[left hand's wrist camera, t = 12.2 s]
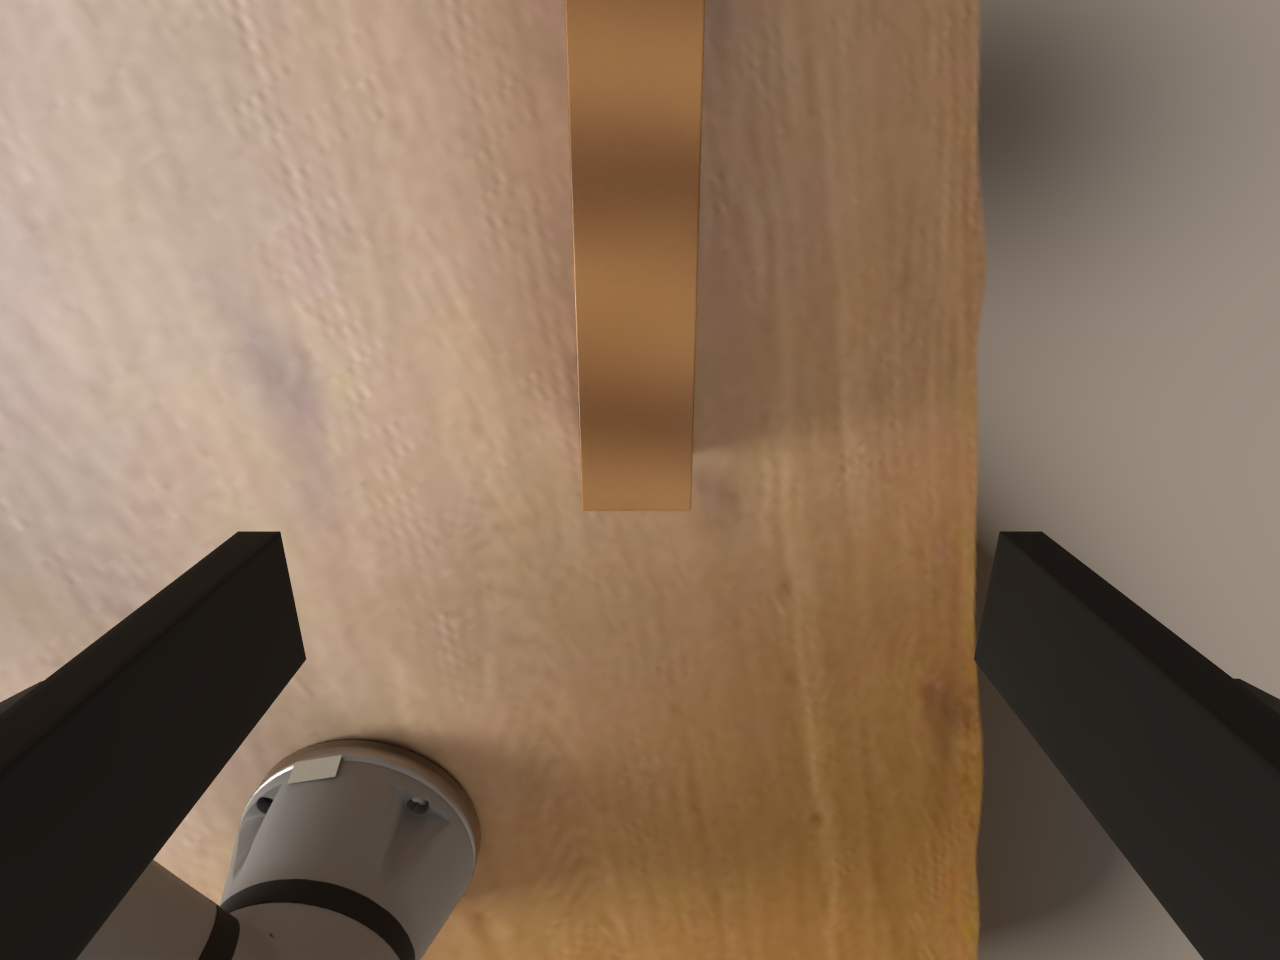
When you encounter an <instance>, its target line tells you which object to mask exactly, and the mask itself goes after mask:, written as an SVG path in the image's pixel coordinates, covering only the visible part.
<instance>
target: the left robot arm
mask: <svg viewBox="0 0 1280 960" xmlns="http://www.w3.org/2000/svg"><path fill="white" fill-rule="evenodd" d="M305 660H306V656H305V651H304V646H303V641H302V637H301V632H300V627H299V622H298V617H297V612H296V607H295V602H294V597H293V592H292V587H291V582H290V577H289V572H288V568H287V563H286V558H285V553H284V548H283V543H282V538H281V533H280V532H237V533H236V534H235V535H233V536H232V537H231V538H229V539H228V540H227V541H225V542H224V543H223V544H221V545H220V546H219V547H218V548H216V549H215V550H214V551H212V552H211V553H210V554H208V555H207V556H206V557H205V558H203V559H202V560H201V561H199V562H198V563H197V564H195V565H194V566H193V567H192V568H190V569H189V570H188V571H186V572H185V573H184V574H182V575H181V576H180V577H179V578H177V579H176V580H175V581H173V582H172V583H171V584H169V585H168V586H167V587H165V588H164V589H163V590H162V591H160V592H159V593H158V594H156V595H155V596H154V597H152V598H151V599H150V600H149V601H147V602H146V603H145V604H143V605H142V606H141V607H139V608H138V609H137V610H136V611H134V612H133V613H132V614H130V615H129V616H128V617H126V618H125V619H124V620H123V621H121V622H120V623H119V624H117V625H116V626H115V627H113V628H112V629H111V630H109V631H108V632H107V633H106V634H104V635H103V636H102V637H100V638H99V639H98V640H96V641H95V642H94V643H93V644H91V645H90V646H89V647H87V648H86V649H85V650H83V651H82V652H81V653H80V654H78V655H77V656H76V657H74V658H73V659H72V660H70V661H69V662H68V663H67V664H65V665H64V666H63V667H61V668H60V669H59V670H57V671H56V672H55V673H54V674H52V675H51V676H50V677H48V678H47V679H46V680H44V681H41V682H39V683H37V684H35V685H33V686H31V687H29V688H27V689H25V690H24V691H22V692H20V693H18V694H16V695H14V696H12V697H10V698H8V699H6V700H4V701H2V702H0V960H421V958H422V957H423V955H424V953H425V952H426V950H427V949H428V947H429V946H430V944H431V943H432V941H433V940H434V938H435V937H436V935H437V934H438V932H439V931H440V929H441V928H442V926H443V925H444V923H445V922H446V920H447V919H448V917H449V916H450V914H451V913H452V911H453V910H454V908H455V906H456V905H457V903H458V902H459V900H460V899H461V897H462V896H463V894H464V893H465V891H466V890H467V888H468V886H469V884H470V881H471V878H472V875H473V872H474V868H475V864H476V860H477V856H478V852H479V847H480V826H479V821H478V817H477V814H476V812H475V809H474V807H473V805H472V803H471V801H470V799H469V798H468V796H467V795H466V793H465V792H464V791H463V789H462V788H461V787H460V786H459V785H458V784H457V782H456V781H455V780H454V779H453V778H452V777H450V776H449V775H448V774H447V773H446V772H445V771H443V770H442V769H441V768H439V767H438V766H436V765H435V764H433V763H432V762H430V761H429V760H427V759H425V758H423V757H421V756H419V755H417V754H415V753H413V752H410V751H408V750H405V749H402V748H400V747H396V746H393V745H389V744H385V743H380V742H374V741H366V740H337V741H329V742H324V743H319V744H315V745H312V746H309V747H306V748H304V749H301V750H299V751H297V752H295V753H293V754H291V755H289V756H288V757H286V758H285V759H283V760H282V761H280V762H279V763H278V764H277V765H276V766H275V767H274V768H273V769H272V770H271V771H270V772H269V773H268V774H267V776H266V777H265V778H264V780H263V781H262V783H261V784H260V786H259V787H258V789H257V790H256V792H255V793H254V795H253V796H252V798H251V799H250V801H249V802H248V804H247V806H246V808H245V810H244V813H243V816H242V819H241V823H240V827H239V831H238V835H237V839H236V843H235V847H234V851H233V855H232V859H231V863H230V867H229V871H228V875H227V879H226V883H225V887H224V891H223V895H222V899H221V903H220V905H219V906H218V905H217V904H216V903H215V902H213V901H212V900H210V899H209V898H207V897H206V896H204V895H203V894H201V893H200V892H198V891H197V890H195V889H194V888H192V887H191V886H190V885H188V884H187V883H185V882H184V881H182V880H181V879H180V878H178V877H177V876H175V875H174V874H173V873H171V872H170V871H168V870H167V869H166V868H164V867H163V866H161V865H160V864H158V863H157V862H156V861H154V860H153V859H154V857H155V856H156V855H157V853H158V852H159V851H160V849H161V848H162V847H163V846H164V844H165V843H166V842H167V840H168V839H169V838H170V836H171V835H172V834H173V832H174V831H175V830H176V829H177V827H178V826H179V825H180V823H181V822H182V821H183V819H184V818H185V817H186V815H187V814H188V813H189V812H190V810H191V809H192V808H193V806H194V805H195V804H196V802H197V801H198V800H199V799H200V797H201V796H202V795H203V793H204V792H205V791H206V789H207V788H208V787H209V785H210V784H211V783H212V782H213V780H214V779H215V778H216V776H217V775H218V774H219V772H220V771H221V770H222V768H223V767H224V766H225V765H226V763H227V762H228V761H229V759H230V758H231V757H232V755H233V754H234V753H235V751H236V750H237V749H238V748H239V746H240V745H241V744H242V742H243V741H244V740H245V738H246V737H247V736H248V735H249V733H250V732H251V731H252V729H253V728H254V727H255V725H256V724H257V723H258V721H259V720H260V719H261V718H262V716H263V715H264V714H265V712H266V711H267V710H268V708H269V707H270V706H271V704H272V703H273V702H274V701H275V699H276V698H277V697H278V695H279V694H280V693H281V691H282V690H283V689H284V687H285V686H286V685H287V684H288V682H289V681H290V680H291V678H292V677H293V676H294V674H295V673H296V672H297V671H298V669H299V668H300V667H301V665H302V664H303V663H304V661H305ZM974 660H975V661H976V663H977V664H978V665H979V667H980V668H981V669H982V671H983V672H984V673H985V674H986V676H987V677H988V678H989V680H990V681H991V682H992V684H993V685H994V686H995V687H996V689H997V690H998V691H999V693H1000V694H1001V695H1002V697H1003V698H1004V699H1005V701H1006V702H1007V703H1008V704H1009V706H1010V707H1011V708H1012V710H1013V711H1014V712H1015V714H1016V715H1017V716H1018V717H1019V719H1020V720H1021V721H1022V723H1023V724H1024V725H1025V727H1026V728H1027V729H1028V731H1029V732H1030V733H1031V735H1032V736H1033V737H1034V738H1035V740H1036V741H1037V742H1038V744H1039V745H1040V746H1041V748H1042V749H1043V750H1044V751H1045V753H1046V754H1047V755H1048V757H1049V758H1050V759H1051V761H1052V762H1053V763H1054V765H1055V766H1056V767H1057V768H1058V770H1059V771H1060V772H1061V774H1062V775H1063V776H1064V778H1065V779H1066V780H1067V782H1068V783H1069V784H1070V785H1071V787H1072V788H1073V789H1074V791H1075V792H1076V793H1077V795H1078V796H1079V797H1080V799H1081V800H1082V801H1083V802H1084V804H1085V805H1086V806H1087V808H1088V809H1089V810H1090V812H1091V813H1092V814H1093V815H1094V817H1095V818H1096V819H1097V821H1098V822H1099V823H1100V825H1101V826H1102V827H1103V829H1104V830H1105V831H1106V832H1107V834H1108V835H1109V836H1110V838H1111V839H1112V840H1113V842H1114V843H1115V844H1116V846H1117V847H1118V848H1119V849H1120V851H1121V852H1122V853H1123V855H1124V856H1125V857H1126V859H1127V860H1128V861H1129V862H1130V864H1131V865H1132V866H1133V868H1134V869H1135V870H1136V872H1137V873H1138V874H1139V876H1140V877H1141V878H1142V879H1143V881H1144V882H1145V883H1146V885H1147V886H1148V887H1149V889H1150V890H1151V891H1152V893H1153V894H1154V895H1155V896H1156V898H1157V899H1158V900H1159V902H1160V903H1161V904H1162V906H1163V907H1164V908H1165V910H1166V911H1167V912H1168V913H1169V915H1170V916H1171V917H1172V919H1173V920H1174V921H1175V923H1176V924H1177V925H1178V927H1179V928H1180V929H1181V930H1182V932H1183V933H1184V934H1185V936H1186V937H1187V938H1188V940H1189V941H1190V942H1191V943H1192V945H1193V946H1194V947H1195V949H1196V950H1197V951H1198V953H1199V954H1200V955H1201V956H1202V958H1203V959H1204V960H1280V699H1278V698H1276V697H1274V696H1272V695H1270V694H1268V693H1266V692H1264V691H1262V690H1260V689H1258V688H1256V687H1254V686H1252V685H1251V684H1249V683H1247V682H1245V681H1243V680H1241V679H1233V678H1232V677H1230V676H1229V675H1228V674H1226V673H1225V672H1224V671H1223V670H1221V669H1220V668H1219V667H1217V666H1216V665H1215V664H1213V663H1212V662H1211V661H1210V660H1208V659H1207V658H1206V657H1204V656H1203V655H1202V654H1200V653H1199V652H1198V651H1197V650H1195V649H1194V648H1193V647H1191V646H1190V645H1189V644H1187V643H1186V642H1185V641H1184V640H1182V639H1181V638H1180V637H1178V636H1177V635H1176V634H1174V633H1173V632H1172V631H1171V630H1169V629H1168V628H1167V627H1165V626H1164V625H1163V624H1161V623H1160V622H1159V621H1157V620H1156V619H1155V618H1154V617H1152V616H1151V615H1150V614H1148V613H1147V612H1146V611H1144V610H1143V609H1142V608H1141V607H1139V606H1138V605H1137V604H1135V603H1134V602H1133V601H1131V600H1130V599H1129V598H1128V597H1126V596H1125V595H1124V594H1122V593H1121V592H1120V591H1118V590H1117V589H1116V588H1115V587H1113V586H1112V585H1111V584H1109V583H1108V582H1107V581H1105V580H1104V579H1103V578H1101V577H1100V576H1099V575H1098V574H1096V573H1095V572H1094V571H1092V570H1091V569H1090V568H1088V567H1087V566H1086V565H1085V564H1083V563H1082V562H1081V561H1079V560H1078V559H1077V558H1075V557H1074V556H1073V555H1072V554H1070V553H1069V552H1068V551H1066V550H1065V549H1064V548H1062V547H1061V546H1060V545H1059V544H1057V543H1056V542H1055V541H1053V540H1052V539H1051V538H1049V537H1048V536H1047V535H1045V534H1044V533H1043V532H1000V533H999V538H998V543H997V548H996V553H995V558H994V563H993V568H992V572H991V578H990V582H989V587H988V592H987V597H986V602H985V607H984V612H983V617H982V622H981V627H980V632H979V637H978V642H977V646H976V651H975V656H974Z"/></svg>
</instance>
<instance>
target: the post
mask: <svg viewBox="0 0 1280 960" xmlns="http://www.w3.org/2000/svg"><path fill="white" fill-rule="evenodd" d="M565 17H566V47H567V77H568V107H569V137H570V167H571V198H572V228H573V258H574V288H575V318H576V348H577V378H578V409H579V439H580V469H581V499H582V510H583V511H690V510H691V490H692V454H693V417H694V381H695V345H696V309H697V272H698V236H699V200H700V164H701V127H702V91H703V55H704V19H705V0H565Z"/></svg>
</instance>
